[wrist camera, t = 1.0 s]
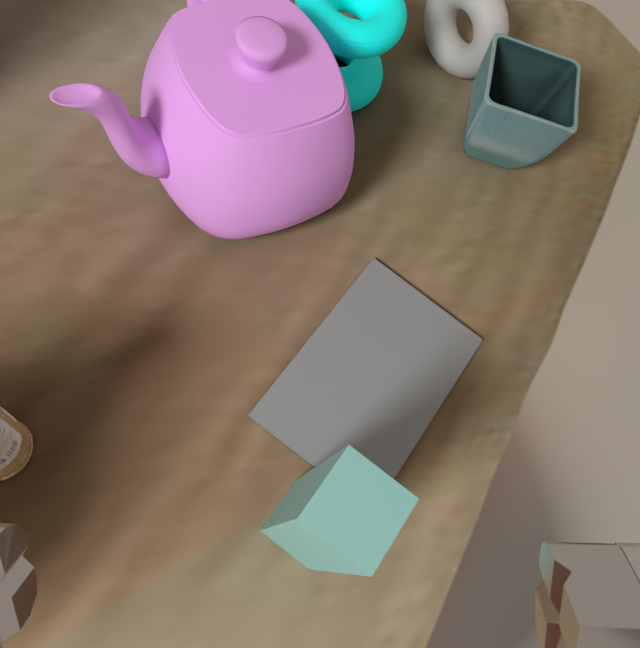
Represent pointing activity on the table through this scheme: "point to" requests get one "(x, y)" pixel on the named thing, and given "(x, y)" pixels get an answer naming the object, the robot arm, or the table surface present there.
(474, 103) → the flower pot
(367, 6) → the donuts
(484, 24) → the donut
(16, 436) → the sprinkles bottle
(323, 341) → the grey mat
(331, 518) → the teal block
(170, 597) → the table surface
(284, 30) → the teapot
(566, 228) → the table surface
